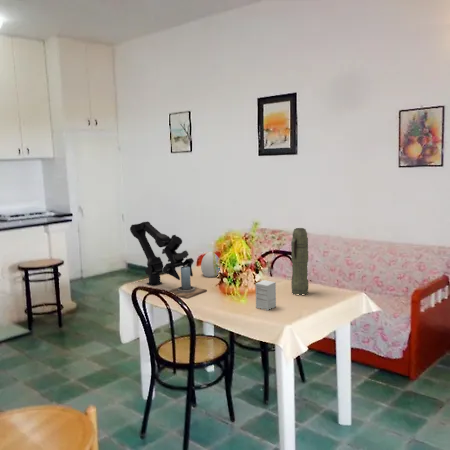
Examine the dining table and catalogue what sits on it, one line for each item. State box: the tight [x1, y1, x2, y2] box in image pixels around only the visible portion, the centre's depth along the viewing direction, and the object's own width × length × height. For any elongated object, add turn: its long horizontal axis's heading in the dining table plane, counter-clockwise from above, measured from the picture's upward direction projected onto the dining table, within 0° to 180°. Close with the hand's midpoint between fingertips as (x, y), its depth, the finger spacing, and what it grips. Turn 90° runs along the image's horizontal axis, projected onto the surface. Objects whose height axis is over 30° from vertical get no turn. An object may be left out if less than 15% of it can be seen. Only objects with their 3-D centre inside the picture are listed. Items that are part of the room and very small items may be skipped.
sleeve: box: [180, 266, 192, 290], centre depth 267 cm, size 5×5×13 cm
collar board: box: [169, 285, 208, 300], centre depth 268 cm, size 16×16×2 cm
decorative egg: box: [200, 251, 221, 278], centre depth 303 cm, size 12×12×15 cm
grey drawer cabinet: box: [255, 279, 277, 311], centre depth 239 cm, size 7×7×13 cm
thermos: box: [290, 227, 309, 296], centre depth 260 cm, size 9×12×35 cm
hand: (186, 277), depth 267 cm, fingers open, 9 cm apart
